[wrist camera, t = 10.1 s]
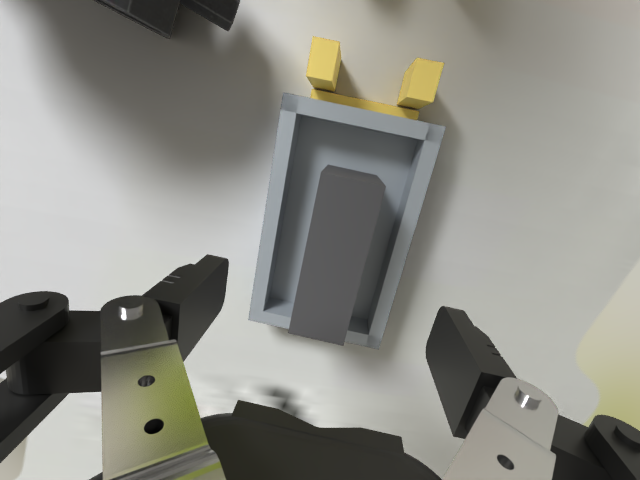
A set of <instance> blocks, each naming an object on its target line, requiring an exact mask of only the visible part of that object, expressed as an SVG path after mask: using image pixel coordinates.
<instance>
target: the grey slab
mask: <svg viewBox="0 0 640 480" xmlns="http://www.w3.org/2000/svg"><path fill="white" fill-rule="evenodd" d="M385 189H386V186H385V184H384V183H383V182H382V181H381V180H380V178H379V177H378V176H377V175H374V174H369V173H365V172H360V171H356V170H351V169H347V168H342V167H337V166H333V165H327V166H326V167H325V168H324V169H323V170H322V171H321V174H320V179H319V184H318V189H317V193H316V198H315V203H314V208H313V213H312V218H311V223H310V228H309V233H308V238H307V242H306V247H305V252H304V257H303V262H302V267H301V272H300V277H299V282H298V286H297V291H296V296H295V301H294V306H293V311H292V316H291V321H290V326H289V330H288V333H290V334H294V335H299V336H303V337H307V338H312V339H316V340H320V341H325V342H329V343H333V344H338V345H342V346H343V345H344V342H345V338H346V334H347V330H348V327H349V323H350V319H351V315H352V312H353V308H354V304H355V300H356V297H357V293H358V289H359V286H360V282H361V278H362V274H363V271H364V267H365V263H366V259H367V256H368V252H369V248H370V244H371V241H372V237H373V233H374V230H375V226H376V222H377V218H378V215H379V211H380V207H381V203H382V200H383V196H384V192H385Z"/></svg>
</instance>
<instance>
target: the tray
mask: <svg viewBox="0 0 640 480" xmlns="http://www.w3.org/2000/svg"><path fill="white" fill-rule="evenodd" d="M445 129H446V126H441V125H436V124H432V123H427V122H422V121H417V120H413V119H408V118H403V117H398V116H394V115H389V114H384V113H379V112H374V111H370V110H365V109H360V108H355V107H351V106H346V105H341V104H336V103H332V102H327V101H322V100H317V99H313V98H308V97H303V96H298V95H294V94H289V93H284V92H283V97H282V104H281V110H280V117H279V123H278V130H277V136H276V143H275V149H274V156H273V162H272V169H271V175H270V182H269V188H268V195H267V201H266V208H265V214H264V221H263V227H262V233H261V240H260V246H259V253H258V259H257V266H256V272H255V279H254V285H253V292H252V298H251V305H250V311H249V318H248V320H251V321H255V322H260V323H264V324H268V325H273V326H277V327H282V328H286V329H289V326H290V321H291V316H292V311H293V306H294V301H295V296H296V291H297V286H298V282H299V277H300V272H301V267H302V262H303V257H304V252H305V247H306V242H307V238H308V233H309V228H310V223H311V218H312V213H313V208H314V203H315V198H316V193H317V189H318V184H319V179H320V174H321V171H322V170H323V169H324V168H325V167H326V166H327V165H333V166H337V167H342V168H347V169H351V170H356V171H360V172H365V173H369V174H374V175H377V176H378V177H379V178H380V180H381V181H382V182H383V183H384V184H385V186H386V189H385V192H384V196H383V200H382V203H381V207H380V211H379V215H378V218H377V222H376V226H375V230H374V233H373V237H372V241H371V244H370V248H369V252H368V256H367V259H366V263H365V267H364V271H363V274H362V278H361V282H360V286H359V289H358V293H357V297H356V300H355V304H354V308H353V312H352V315H351V319H350V323H349V327H348V330H347V334H346V338H345V342H348V343H352V344H357V345H361V346H366V347H370V348H374V349H379V347H380V343H381V340H382V337H383V334H384V330H385V327H386V324H387V320H388V317H389V314H390V310H391V307H392V304H393V300H394V297H395V294H396V291H397V287H398V284H399V281H400V277H401V274H402V271H403V267H404V264H405V261H406V257H407V254H408V251H409V248H410V244H411V241H412V238H413V234H414V231H415V228H416V224H417V221H418V218H419V214H420V211H421V208H422V205H423V201H424V198H425V195H426V191H427V188H428V185H429V181H430V178H431V175H432V172H433V168H434V165H435V162H436V158H437V155H438V152H439V148H440V145H441V142H442V138H443V135H444V132H445Z"/></svg>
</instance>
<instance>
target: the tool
mask: <svg viewBox="0 0 640 480" xmlns="http://www.w3.org/2000/svg"><path fill="white" fill-rule="evenodd" d="M94 1H96V2H98V3H100V4H102V5H103V6H105V7H107V8H109V9H111V10H113V11H115V12H117V13H119V14H121V15H123V16H125V17H127V18H129V19H130V20H132V21H134V22H136V23H138V24H140V25H142V26H144V27H146V28H148V29H150V30H152V31H154V32H156V33H158V34H160V35H162V36H164V37H166V38H168V39H170V36H171V32H172V28H173V25H174V21H175V18H176V14H177V11H178V7H179V4H182V5H184V6H185V7H187V8H189V9H191V10H192V11H194V12H196V13H197V14H199V15H201V16H203V17H204V18H206V19H208V20H209V21H211V22H213V23H215V24H216V25H218V26H220V27H221V28H223V29H225V30H227V31H229V30H230V28H231V26H232V24H233V21H234V18H235V15H236V13H237V9H238V6H239V3H240V0H94Z"/></svg>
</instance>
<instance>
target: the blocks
mask: <svg viewBox="0 0 640 480" xmlns="http://www.w3.org/2000/svg"><path fill="white" fill-rule="evenodd" d="M340 63H341V51H340V42H339V41H334V40H329V39H324V38H319V37H314V36H313V38H312V44H311V50H310V55H309V61H308V67H307V73H306V77H307V78H308V80H309V81H310V83H311V84H312V86H313V87H315V88H320V89H325V90H330V91H335V88H336V83H337V78H338V73H339V68H340ZM443 66H444V63H441V62H436V61H431V60H426V59H421V58H416V59H415V61H414V62H413V63H412V64H411V66H410V67H409V68H408V69H407V71H406V72H405V74H404V78H403V82H402V86H401V90H400V94H399V98H398V102H397V105H401V106H406V107H411V108H416V109H420V108H422V107H424V106H426V105H428V104H430V103H433V101H434V97H435V94H436V90H437V87H438V83H439V80H440V76H441V73H442V69H443ZM310 98H313V99H317V100H322V101H327V102H332V103H336V104H341V105H346V106H351V107H355V108H360V109H365V110H370V111H374V112H379V113H384V114H389V115H394V116H398V117H403V118H408V119H413V120H417V119H418V115H419V111H415V110H410V109H406V108H401V107H396V106H391V105H387V104H382V103H377V102H372V101H367V100H363V99H358V98H353V97H348V96H344V95H339V94H334V93H329V92H324V91H320V90H315V89H312V91H311V97H310Z"/></svg>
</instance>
